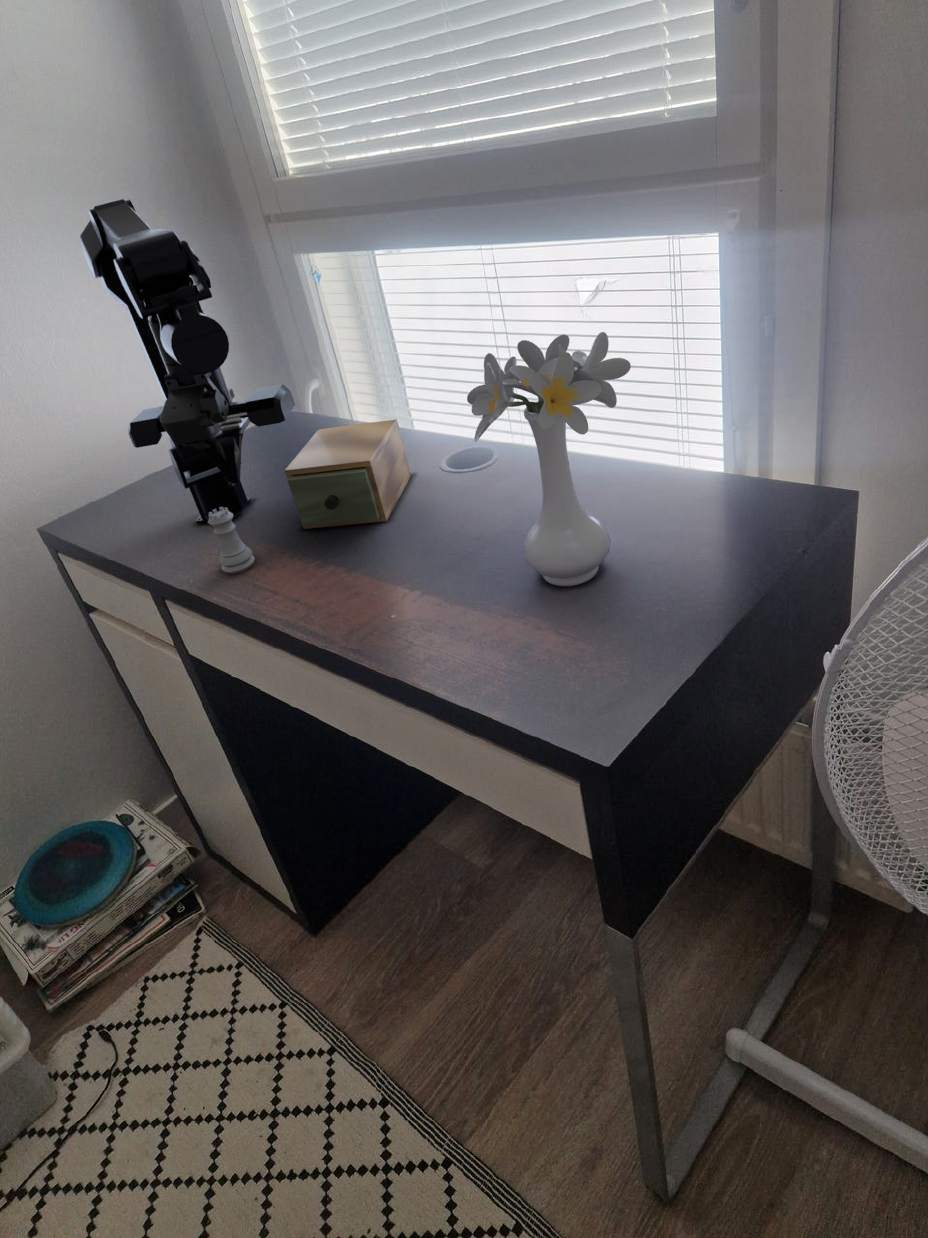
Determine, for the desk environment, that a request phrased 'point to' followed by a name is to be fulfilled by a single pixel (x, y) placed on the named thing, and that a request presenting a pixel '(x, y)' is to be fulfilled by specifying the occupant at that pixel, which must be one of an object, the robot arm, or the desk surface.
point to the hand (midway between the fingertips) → (236, 482)
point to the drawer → (334, 497)
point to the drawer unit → (359, 459)
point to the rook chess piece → (230, 543)
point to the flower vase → (555, 445)
